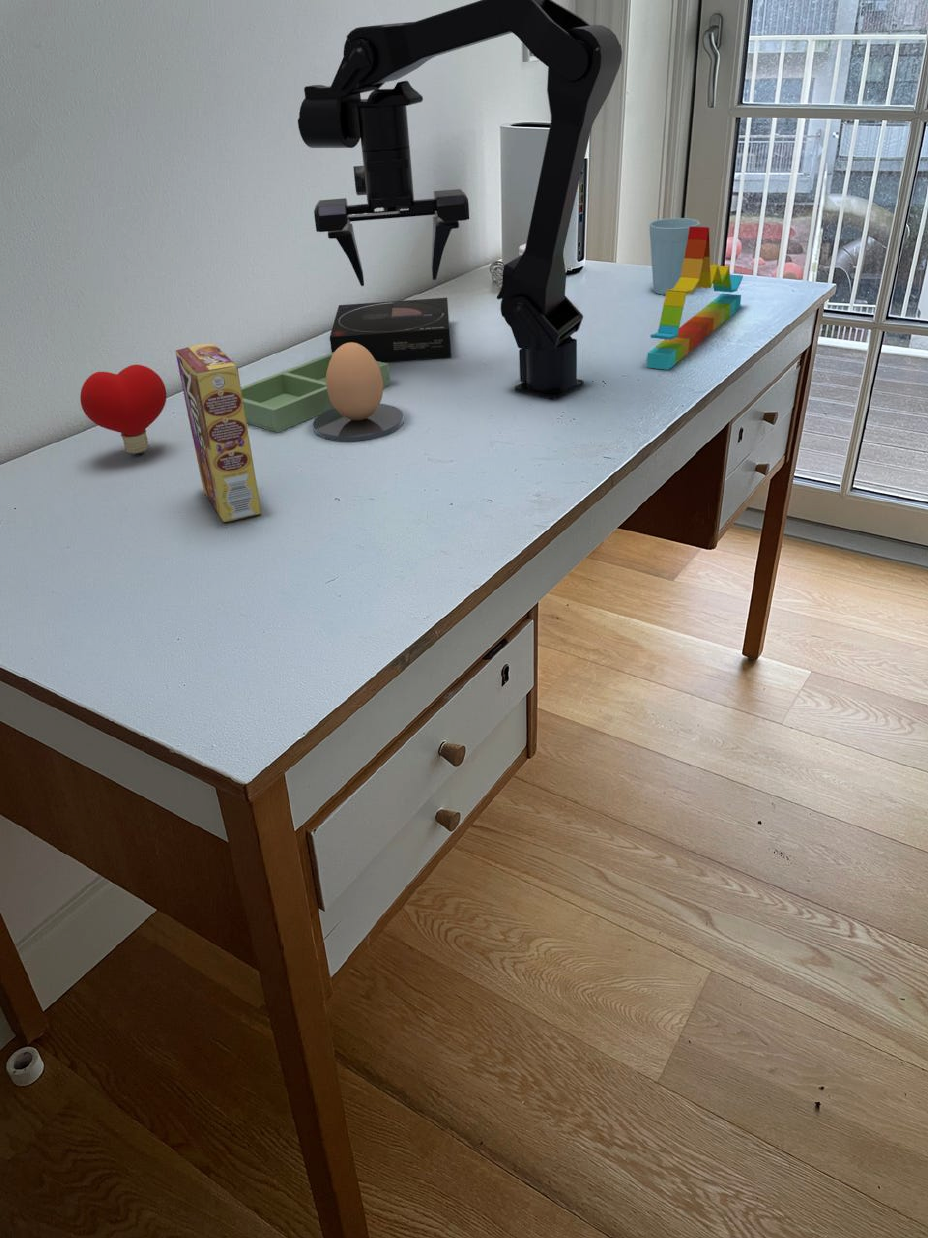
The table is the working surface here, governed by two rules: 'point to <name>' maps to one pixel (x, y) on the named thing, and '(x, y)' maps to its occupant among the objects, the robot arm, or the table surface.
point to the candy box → (219, 430)
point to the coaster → (358, 424)
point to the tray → (292, 395)
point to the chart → (692, 276)
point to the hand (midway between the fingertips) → (398, 281)
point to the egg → (354, 382)
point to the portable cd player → (395, 329)
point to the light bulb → (125, 403)
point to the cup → (668, 250)
